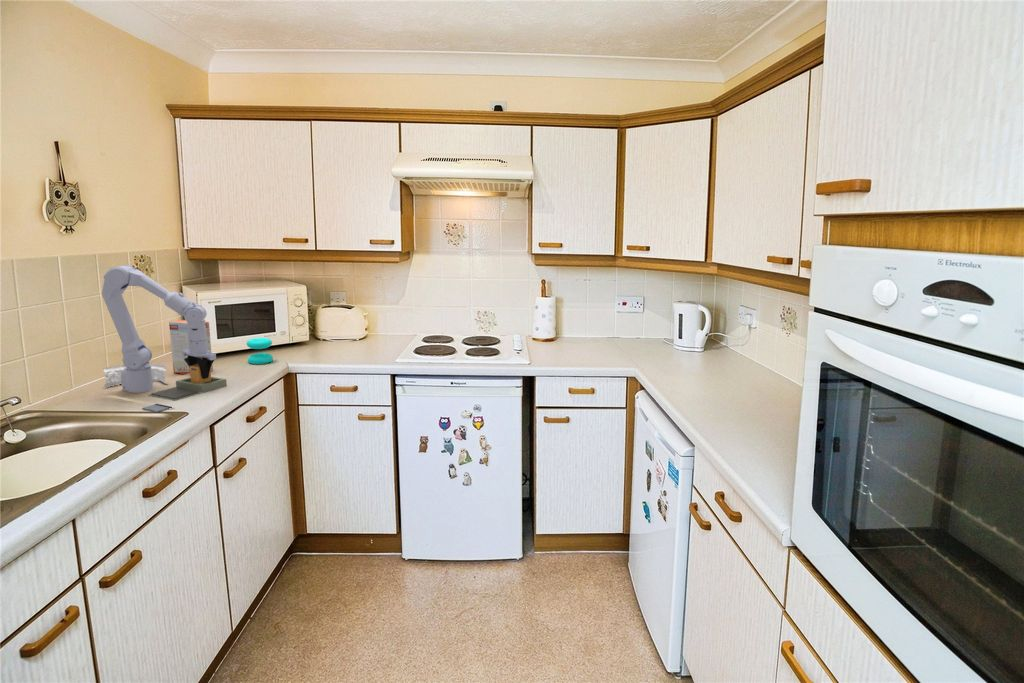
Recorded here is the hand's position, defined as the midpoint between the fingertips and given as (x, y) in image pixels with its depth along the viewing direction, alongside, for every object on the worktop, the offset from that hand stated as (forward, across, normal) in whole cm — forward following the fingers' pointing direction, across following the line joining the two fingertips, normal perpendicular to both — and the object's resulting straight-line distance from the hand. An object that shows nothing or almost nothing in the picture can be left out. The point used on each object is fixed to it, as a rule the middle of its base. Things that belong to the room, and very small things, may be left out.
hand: (200, 377), depth 205 cm
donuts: (+5, +14, -40) cm, 43 cm away
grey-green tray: (+5, 0, +5) cm, 7 cm away
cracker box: (+5, +22, -14) cm, 26 cm away
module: (+2, 0, 0) cm, 2 cm away
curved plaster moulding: (+5, +23, +8) cm, 25 cm away
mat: (+5, -7, +20) cm, 21 cm away
